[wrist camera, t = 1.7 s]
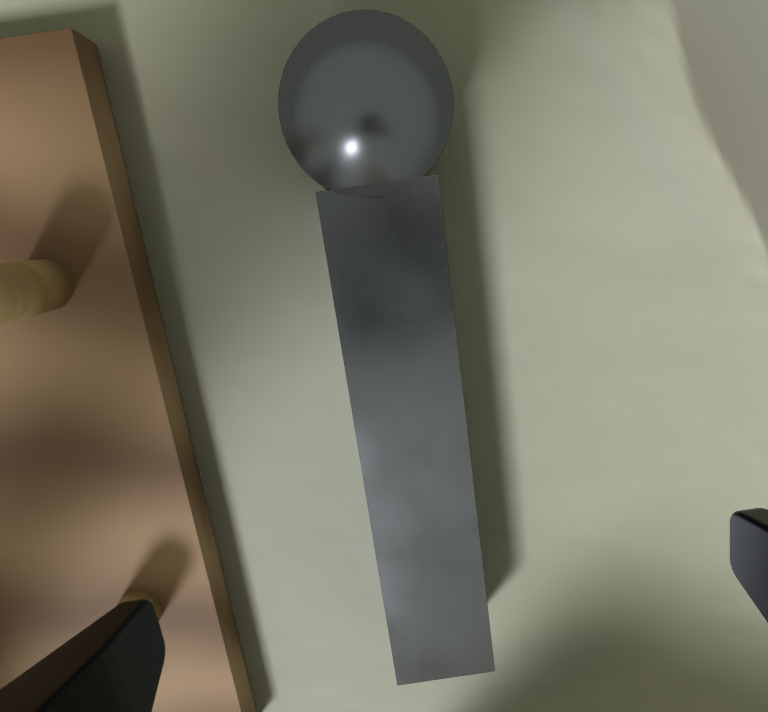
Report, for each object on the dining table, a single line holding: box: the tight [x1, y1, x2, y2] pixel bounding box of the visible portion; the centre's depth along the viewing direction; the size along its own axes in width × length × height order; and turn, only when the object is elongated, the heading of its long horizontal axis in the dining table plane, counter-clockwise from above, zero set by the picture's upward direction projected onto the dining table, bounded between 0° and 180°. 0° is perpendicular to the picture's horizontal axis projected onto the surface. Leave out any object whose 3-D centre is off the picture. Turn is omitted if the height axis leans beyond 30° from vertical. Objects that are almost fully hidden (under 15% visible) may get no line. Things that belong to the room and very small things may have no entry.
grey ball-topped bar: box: [278, 10, 495, 685], centre depth 19 cm, size 21×5×3 cm, turn 8°
